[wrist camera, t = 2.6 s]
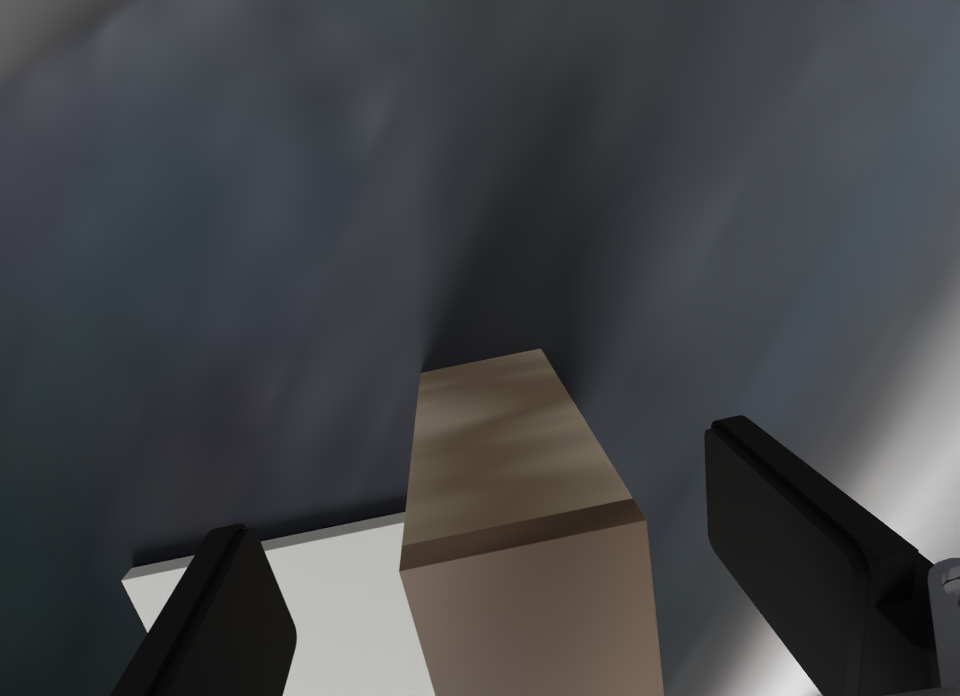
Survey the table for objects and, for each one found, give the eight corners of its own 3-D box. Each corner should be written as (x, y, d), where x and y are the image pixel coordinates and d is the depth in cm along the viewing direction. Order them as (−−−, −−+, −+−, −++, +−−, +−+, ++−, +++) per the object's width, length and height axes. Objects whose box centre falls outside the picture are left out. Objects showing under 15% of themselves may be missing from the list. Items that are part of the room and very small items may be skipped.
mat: (492, 493, 18) (494, 503, 18) (531, 679, 21) (534, 692, 20) (131, 567, 18) (121, 580, 17) (218, 744, 21) (213, 760, 20)
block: (540, 348, 17) (646, 520, 8) (557, 454, 18) (664, 700, 9) (420, 372, 17) (398, 571, 8) (445, 477, 18) (449, 746, 9)
